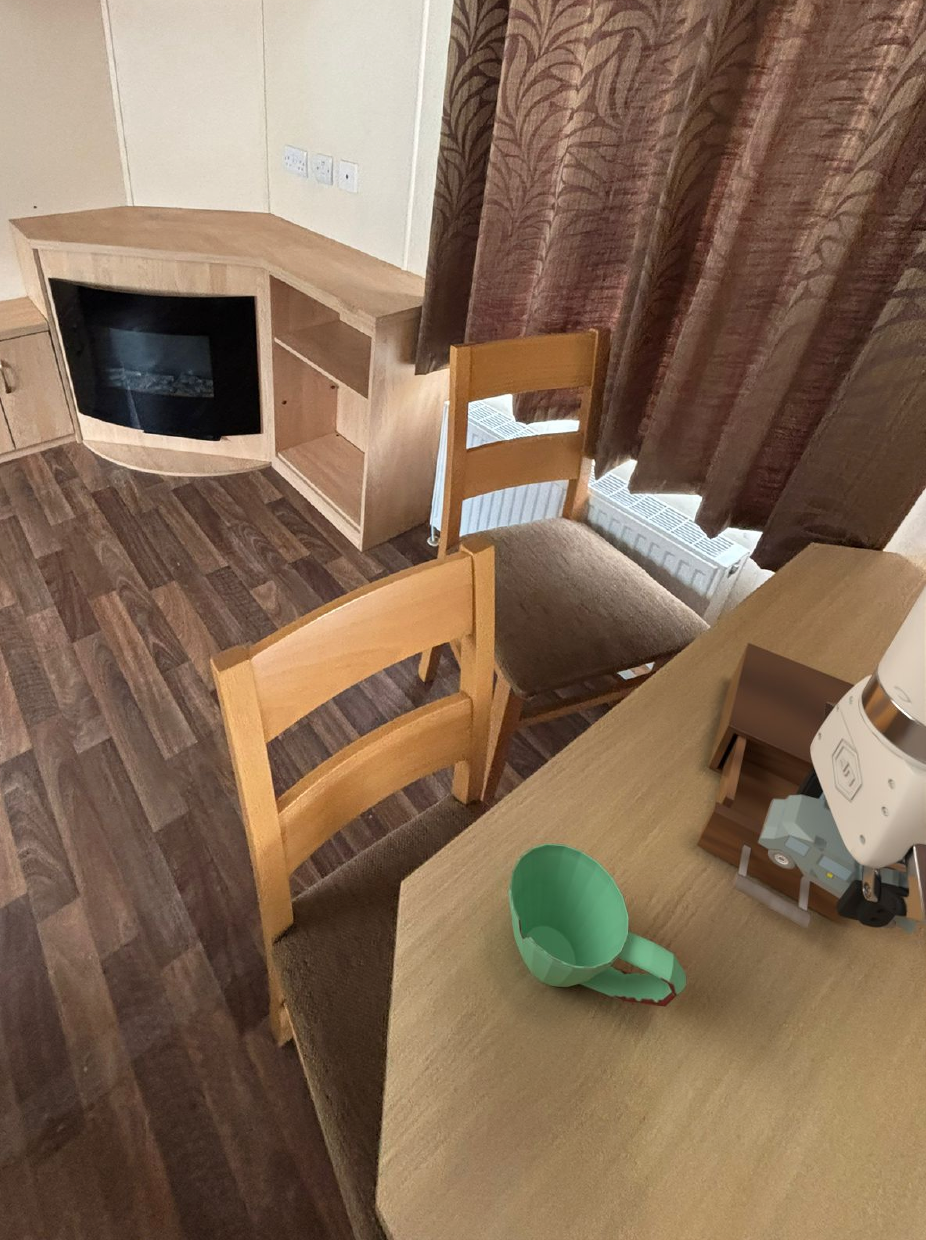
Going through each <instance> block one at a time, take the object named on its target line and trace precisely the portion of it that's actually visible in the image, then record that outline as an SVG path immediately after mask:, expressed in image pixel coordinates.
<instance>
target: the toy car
mask: <svg viewBox="0 0 926 1240" xmlns="http://www.w3.org/2000/svg"><path fill="white" fill-rule="evenodd" d="M758 843H759V844H761V845H762V846H764V847H766V848H767V849H769V850H768V856H769V858H770V859H771V860H772V861H773V862H774V863H775V864H777V865H778V866H780V867H782V868H786V869H793V868H795V866H796V864H797V866H798V867H799V869H800V870H801V872H802V873H803V875H804V876H805V878H806V879H808V880H810V881H811V882H813V883H815V884H816V885H818V886H820V887H821V888H823V889H825V890H826V891H828V892H830V893H831V894H833V895H835V896H836V897H838V898H841V897H842V895H843V894H844V893H845V891H846V890H847V889H848V887H849V886H850V885H851V883H852V882H853V881H854V880H861V881H863V869H864V865H861V864H859V863H858V862H857V861H856V860H855V859H854V858H853V856H852V855H851V854H850V852H849V851H848V849H847V848H846V846H845V844H844V842H843V839H842V837H841V835H840V832H839V830H838V827H837V825H836V822H835V820H834V817H833V815H832V812H831V810H830V807H829V805H828V802H827V801H826V797H825V795H824V792H823V793H822V794H821V796H820V798H819V799H817V798H813V797H809V796H805V795H789V796H788V797H787V798H786V799H773V800H772V801H771V803H770V806H769V809H768V812H767V816H766V819H765V822H764V825H763V828H762V831H761V834H760V837H759V840H758ZM881 882H883V883H888V884H892V885H896V886H898V882H899V871H896V870H892V869H887V868H882V879H881ZM896 925H897V927H898V928H900V929H902V930H903V931H904V932H906V933H908V934H910V935H912V934H913V933H914V932H915V931H916V925H917V921H915V920H911V919H908V918H905V917H902V916H897V915H895V916H894V918H893V919H892V920H891V921H890V922H889V923H888V925H886V926H883V927H882V928H885V929H891V930H892V929H894V928H895V927H896Z"/></svg>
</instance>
